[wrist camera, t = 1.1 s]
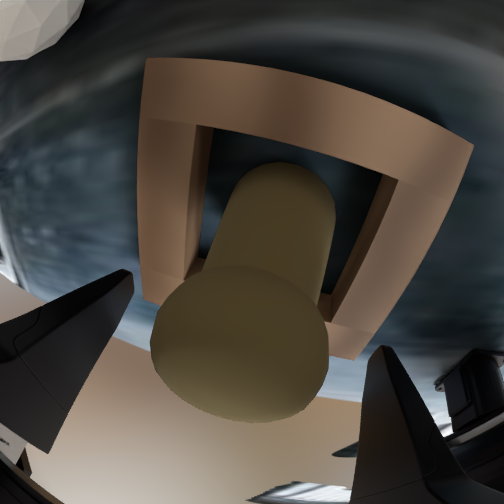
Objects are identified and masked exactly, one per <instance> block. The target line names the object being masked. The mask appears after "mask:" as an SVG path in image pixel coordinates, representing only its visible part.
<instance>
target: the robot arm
mask: <svg viewBox="0 0 504 504" xmlns="http://www.w3.org/2000/svg"><path fill="white" fill-rule="evenodd" d="M133 294H134V281H133V274H132V272H130V271H128V270H125V269H120V270H117V271H115V272H113V273H111V274H109V275H106V276H104V277H102V278H100V279H98V280H95V281H93V282H91V283H89V284H87V285H85V286H82V287H80V288H78V289H76V290H74V291H72V292H70V293H67V294H65V295H63V296H61V297H59V298H57V299H55V300H53V301H51V302H49V303H47V304H45V305H43V306H40V307H38V308H36V309H34V310H32V311H30V312H28V313H26V314H24V315H21V316H19V317H17V318H14V319H12V320H9V321H7V322H4V323H1V324H0V504H64V503H63V502H61V501H60V500H58V499H57V498H55V497H54V496H53V495H51V494H50V493H49V492H47V491H46V490H45V489H43V488H42V487H41V486H40V485H38V484H37V483H36V482H35V481H33V480H32V479H31V478H30V476H31V474H32V471H31V468H30V464H29V461H28V457H27V453H26V449H25V446H26V444H27V442H29V443H30V444H32V445H33V446H35V447H36V448H38V449H40V450H42V451H43V452H45V453H47V454H48V453H49V451H50V450H51V448H52V446H53V443H54V441H55V439H56V437H57V435H58V433H59V431H60V429H61V427H62V425H63V423H64V421H65V419H66V417H67V415H68V413H69V411H70V409H71V407H72V405H73V403H74V401H75V399H76V397H77V396H78V394H79V392H80V390H81V388H82V386H83V385H84V383H85V381H86V379H87V377H88V376H89V374H90V372H91V370H92V369H93V367H94V365H95V363H96V362H97V360H98V358H99V357H100V355H101V353H102V351H103V350H104V348H105V347H106V345H107V343H108V341H109V340H110V338H111V337H112V335H113V333H114V332H115V330H116V328H117V326H118V324H119V323H120V320H121V318H122V316H123V314H124V312H125V310H126V308H127V306H128V304H129V302H130V300H131V298H132V296H133ZM503 364H504V354H502V353H496V352H490V351H484V350H478V349H475V350H473V351H471V352H470V353H469V354H468V355H467V356H466V357H465V358H464V359H463V360H462V361H461V362H460V363H459V364H458V365H457V366H456V367H455V368H454V369H453V370H452V371H451V372H450V373H449V374H448V375H447V376H446V377H445V378H444V379H443V380H441V381H440V382H439V383H438V384H437V385H436V386H435V390H436V391H439V392H445V395H446V401H447V407H448V413H449V417H451V422H452V430H453V434H450V435H448V436H446V437H443V436H442V434H441V432H440V431H439V429H438V427H437V425H436V423H434V422H435V421H434V419H433V418H432V416H431V414H430V412H429V410H428V408H427V407H426V405H425V403H424V401H423V399H422V398H421V396H420V394H419V392H418V391H417V389H416V387H415V385H414V384H413V382H412V380H411V378H410V377H409V375H408V373H407V372H406V370H405V368H404V367H403V365H402V363H401V362H400V360H399V358H398V357H397V355H396V353H395V352H394V350H393V349H392V347H390V346H386V345H380V346H379V347H378V348H377V349H376V351H375V352H374V353H373V354H372V356H371V357H370V358H369V361H368V365H367V372H366V379H365V385H364V392H363V398H362V409H361V423H360V434H359V443H358V452H357V460H356V467H355V474H354V481H353V486H352V492H351V497H350V502H349V504H504V381H503V378H502V375H501V372H500V367H501V366H502V365H503Z"/></svg>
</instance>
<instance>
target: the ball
mask: <svg viewBox="0 0 504 504" xmlns="http://www.w3.org/2000/svg"><path fill="white" fill-rule="evenodd" d="M84 1H85V0H0V61H10V60H24V59H28V58H29V57H31V56H33V55H35V54H36V53H38V52H40V51H42V50H44V49H46V48H48V47H50V46H52V45H54V44H56V42H57V41H58V40H59V39H60V38H61V37H62V35H63V34H64V33H65V32H66V31H67V30H68V29H69V28H70V27H71V25H72V24H73V23H74V22H75V21H76V20H77V19H78V18H79V15H80V12H81V9H82V7H83V4H84Z"/></svg>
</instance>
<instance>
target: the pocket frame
mask: <svg viewBox="0 0 504 504" xmlns="http://www.w3.org/2000/svg"><path fill="white" fill-rule="evenodd" d="M214 128H220V129H225V130H230V131H236V132H240V133H245V134H250V135H255V136H259V137H263V138H268V139H272V140H276V141H280V142H284V143H288V144H292V145H295V146H299V147H303V148H306V149H310V150H313V151H317V152H320V153H323V154H327V155H330V156H333V157H336V158H340V159H343V160H346V161H349V162H352V163H355V164H358V165H361V166H363V167H366V168H369V169H372V170H375V171H377V172H380V173H383V175H382V178H381V181H380V183H379V186H378V189H377V191H376V194H375V197H374V199H373V202H372V204H371V207H370V209H369V212H368V214H367V217H366V219H365V222H364V224H363V226H362V229H361V231H360V233H359V236H358V238H357V240H356V243H355V245H354V247H353V249H352V252H351V254H350V256H349V258H348V260H347V263H346V265H345V267H344V269H343V271H342V273H341V275H340V278H339V280H338V282H337V284H336V286H335V288H334V290H333V292H332V294H331V295H329V294H325V293H322V292H320V295H319V299H318V303H317V308H318V310H319V312H320V314H321V316H322V317H323V319H324V322H325V325H326V329H327V332H328V337H329V355H330V356H335V357H339V358H344V359H349V360H355V359H356V358H357V356H358V355H359V354H360V353H361V351H362V350H363V349H364V347H365V346H366V345H367V343H368V342H369V341H370V339H371V338H372V337H373V335H374V334H375V333H376V331H377V330H378V329H379V327H380V326H381V324H382V323H383V322H384V320H385V319H386V317H387V316H388V314H389V313H390V311H391V310H392V308H393V307H394V305H395V304H396V302H397V301H398V299H399V298H400V296H401V295H402V293H403V292H404V290H405V288H406V287H407V285H408V284H409V282H410V280H411V279H412V277H413V275H414V274H415V272H416V270H417V269H418V267H419V265H420V263H421V262H422V260H423V258H424V256H425V255H426V253H427V251H428V249H429V247H430V245H431V244H432V242H433V240H434V238H435V236H436V234H437V232H438V230H439V228H440V226H441V224H442V222H443V220H444V218H445V216H446V214H447V211H448V209H449V207H450V205H451V203H452V200H453V198H454V196H455V194H456V191H457V189H458V187H459V184H460V182H461V179H462V177H463V174H464V172H465V169H466V166H467V164H468V161H469V158H470V155H471V152H472V150H473V147H474V145H473V144H471V143H469V142H468V141H466V140H464V139H463V138H461V137H459V136H457V135H456V134H454V133H452V132H450V131H448V130H447V129H445V128H443V127H441V126H439V125H437V124H435V123H433V122H431V121H429V120H427V119H425V118H423V117H421V116H419V115H417V114H415V113H412V112H410V111H408V110H406V109H403V108H401V107H399V106H396V105H394V104H392V103H389V102H387V101H384V100H382V99H379V98H376V97H374V96H371V95H368V94H366V93H363V92H360V91H357V90H354V89H351V88H348V87H345V86H342V85H338V84H335V83H332V82H328V81H325V80H321V79H317V78H314V77H310V76H306V75H301V74H297V73H293V72H288V71H284V70H279V69H274V68H268V67H263V66H257V65H250V64H243V63H236V62H227V61H218V60H207V59H191V58H146V65H145V72H144V80H143V88H142V97H141V108H140V120H139V135H138V157H137V218H138V241H139V256H140V269H141V280H142V290H143V299H144V300H147V301H150V302H152V303H155V304H158V305H160V306H162V304H163V303H164V301H165V300H166V298H167V297H168V296H169V295H170V294H171V293H172V292H173V291H174V290H175V289H176V288H177V287H178V286H179V285H180V284H182V283H183V282H184V281H185V280H187V279H188V278H189V277H191V276H192V275H194V274H196V273H199V272H202V269H203V266H204V264H205V261H206V259H203V258H200V257H198V256H199V245H200V235H201V225H202V215H203V206H204V197H205V189H206V181H207V173H208V165H209V158H210V151H211V144H212V137H213V131H214Z"/></svg>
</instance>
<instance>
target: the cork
mask: <svg viewBox="0 0 504 504" xmlns="http://www.w3.org/2000/svg"><path fill="white" fill-rule="evenodd" d="M335 222H336V209H335V202H334V199H333V197H332V195H331V193H330V191H329V189H328V187H327V186H326V185H325V183H324V182H323V181H322V180H321V179H320V178H319V177H318V176H317V175H316V174H315V173H313V172H311V171H309V170H307V169H305V168H303V167H302V166H300V165H296V164H290V163H285V162H275V163H268V164H262V165H260V166H258V167H256V168H254V169H252V170H250V171H248V172H247V173H246V174H245V175H244V176H243V177H242V178H241V179H240V180H239V181H238V182H237V183H236V185H235V187H234V190H233V192H232V194H231V196H230V199H229V201H228V204H227V206H226V209H225V211H224V214H223V216H222V219H221V222H220V224H219V227H218V229H217V232H216V235H215V237H214V240H213V242H212V245H211V248H210V250H209V253H208V256H207V258H206V261H205V264H204V266H203V269H202V272H199V273H196V274H194V275H192V276H191V277H189V278H188V279H187V280H185V281H184V282H183V283H182V284H180V285H179V286H178V287H177V288H176V289H175V290H174V291H173V292H172V293H171V294H170V295H169V296H168V297H167V298H166V300H165V301H164V303H163V304H162V306H161V307H160V309H159V310H158V312H157V316H156V319H155V323H154V326H153V330H152V335H151V339H150V348H151V357H152V361H153V364H154V367H155V370H156V372H157V373H158V374H159V376H160V377H161V378H162V380H163V381H164V382H165V384H166V385H167V386H168V387H169V388H170V390H171V391H173V392H174V393H175V394H176V395H178V396H179V397H180V398H181V399H182V400H184V401H186V402H187V403H189V404H191V405H192V406H195V407H196V408H198V409H200V410H202V411H205V412H207V413H210V414H212V415H215V416H218V417H222V418H225V419H229V420H233V421H241V422H249V423H265V422H272V421H276V420H280V419H284V418H288V417H291V416H293V415H295V414H297V413H299V412H300V411H302V410H304V409H305V408H306V407H307V405H308V404H309V403H310V402H311V401H312V400H313V399H314V398H315V396H316V395H317V393H318V391H319V390H320V388H321V387H322V385H323V382H324V380H325V377H326V374H327V372H328V367H329V337H328V332H327V329H326V325H325V322H324V319H323V317H322V316H321V314H320V312H319V310H318V308H317V303H318V299H319V295H320V291H321V287H322V283H323V279H324V274H325V270H326V266H327V261H328V257H329V252H330V247H331V242H332V237H333V232H334V227H335Z"/></svg>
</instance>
